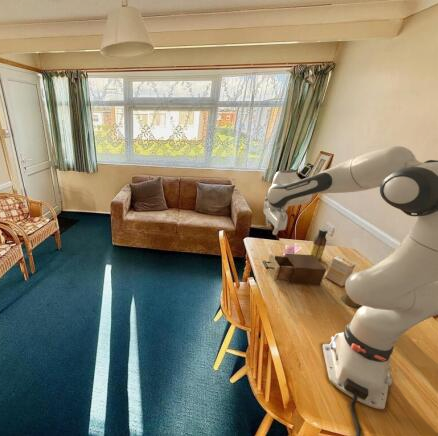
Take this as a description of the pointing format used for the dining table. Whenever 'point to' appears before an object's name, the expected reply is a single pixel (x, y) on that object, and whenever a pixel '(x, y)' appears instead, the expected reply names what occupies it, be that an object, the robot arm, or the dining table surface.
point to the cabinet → (306, 269)
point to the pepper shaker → (349, 301)
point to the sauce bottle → (319, 244)
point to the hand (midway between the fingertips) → (270, 229)
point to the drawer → (279, 267)
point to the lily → (291, 249)
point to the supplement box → (340, 270)
